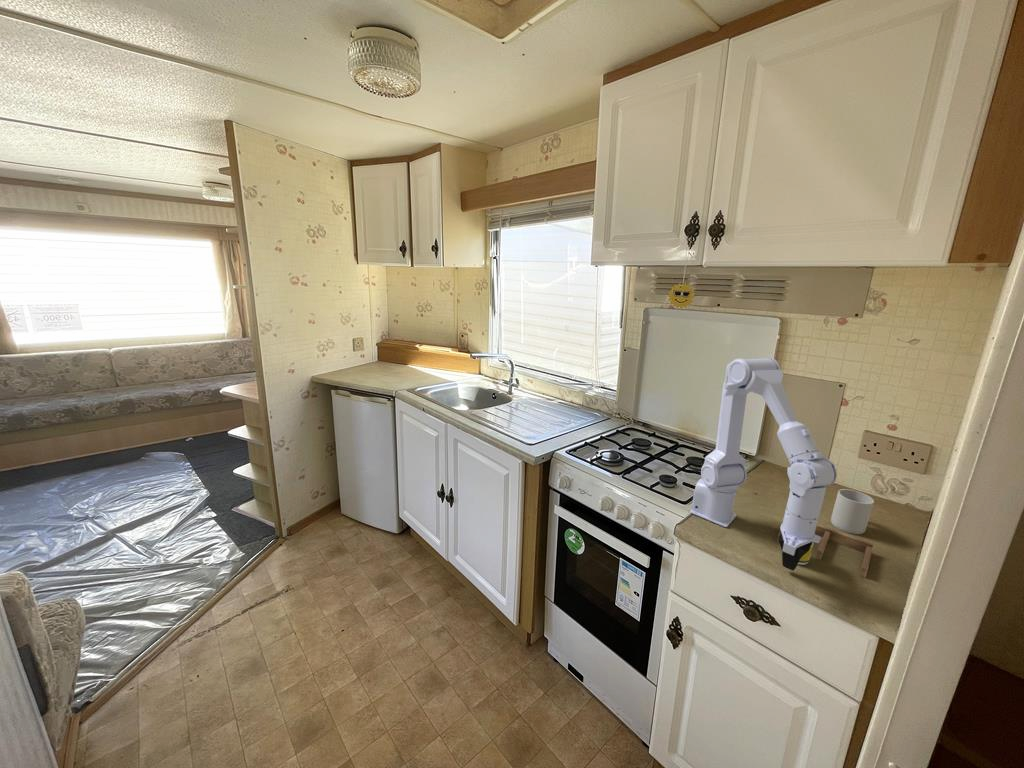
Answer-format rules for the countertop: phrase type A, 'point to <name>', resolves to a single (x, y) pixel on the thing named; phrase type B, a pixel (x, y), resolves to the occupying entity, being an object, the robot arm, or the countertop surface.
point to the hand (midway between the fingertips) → (788, 567)
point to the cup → (851, 511)
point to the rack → (844, 540)
